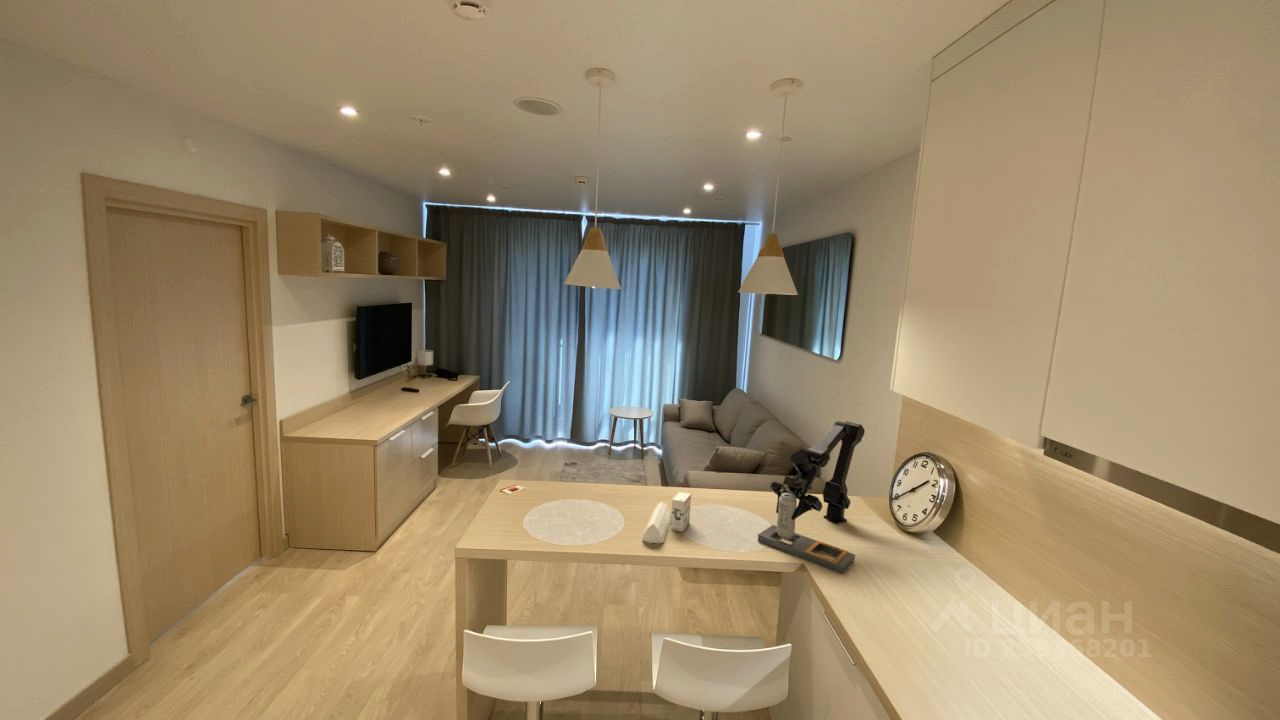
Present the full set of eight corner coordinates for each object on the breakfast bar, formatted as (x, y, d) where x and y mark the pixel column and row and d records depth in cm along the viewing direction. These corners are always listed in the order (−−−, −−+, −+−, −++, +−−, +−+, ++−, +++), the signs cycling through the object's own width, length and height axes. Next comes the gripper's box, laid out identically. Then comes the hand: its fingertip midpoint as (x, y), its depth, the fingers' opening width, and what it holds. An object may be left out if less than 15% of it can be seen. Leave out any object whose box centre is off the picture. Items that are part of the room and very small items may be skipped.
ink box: (677, 520, 196) (679, 491, 195) (689, 522, 195) (691, 493, 193) (670, 529, 189) (671, 499, 187) (683, 532, 187) (684, 501, 185)
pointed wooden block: (649, 505, 200) (636, 533, 177) (665, 498, 198) (654, 525, 175) (657, 522, 200) (645, 551, 177) (673, 515, 199) (663, 544, 175)
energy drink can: (797, 538, 179) (800, 497, 177) (782, 540, 177) (785, 499, 175) (787, 530, 185) (790, 491, 182) (773, 532, 183) (776, 492, 181)
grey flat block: (757, 541, 182) (758, 533, 182) (772, 531, 190) (772, 524, 190) (842, 574, 162) (842, 566, 162) (854, 561, 170) (855, 553, 170)
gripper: (774, 459, 187) (753, 495, 182) (820, 475, 173) (799, 514, 167) (786, 475, 193) (766, 510, 188) (831, 492, 179) (810, 530, 173)
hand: (784, 516), depth 179 cm, fingers closed on energy drink can, 6 cm apart
